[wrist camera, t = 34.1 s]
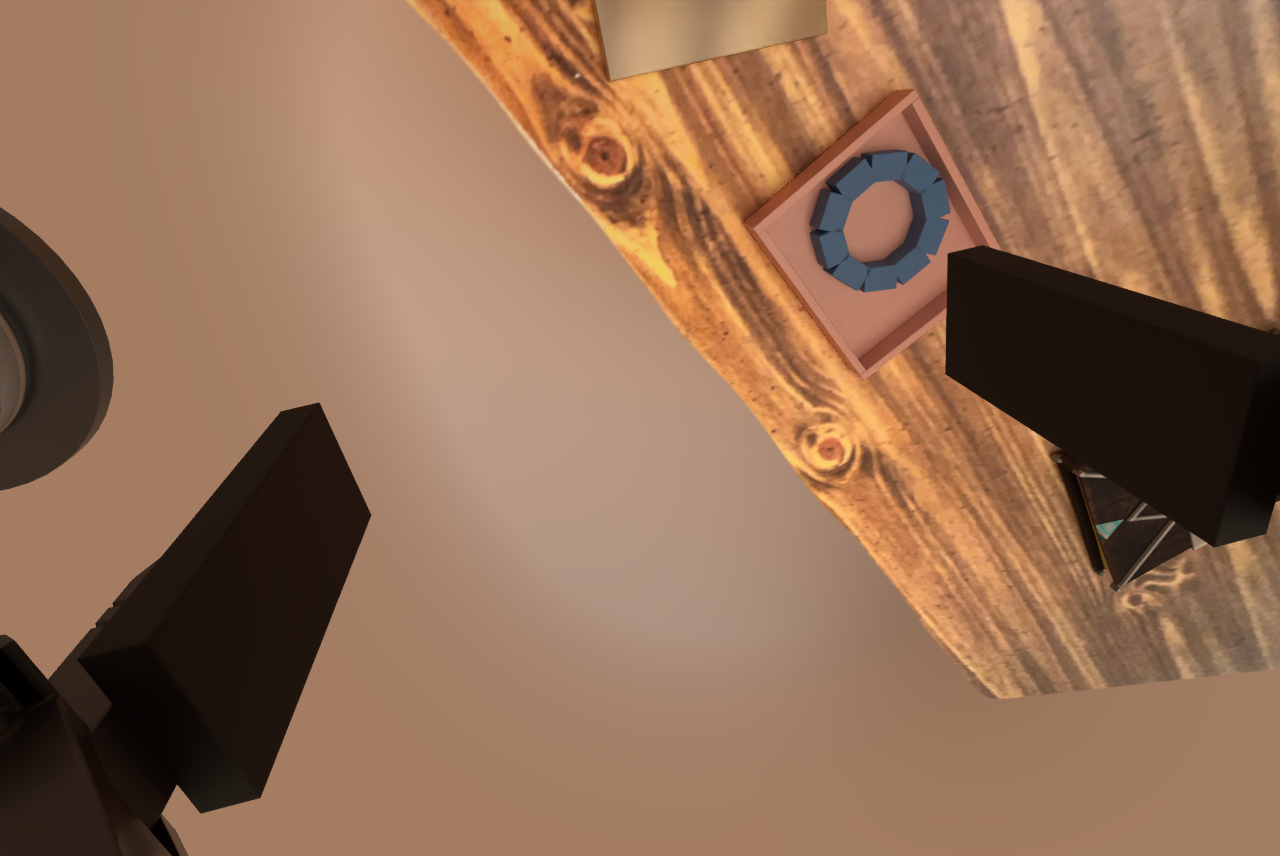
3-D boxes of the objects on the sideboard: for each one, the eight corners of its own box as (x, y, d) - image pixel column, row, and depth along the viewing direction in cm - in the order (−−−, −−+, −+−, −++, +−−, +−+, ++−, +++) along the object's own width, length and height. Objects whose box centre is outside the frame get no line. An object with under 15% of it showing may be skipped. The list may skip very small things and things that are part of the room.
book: (1276, 326, 58) (1338, 344, 53) (1291, 464, 65) (1347, 491, 61) (1048, 454, 60) (1089, 481, 56) (1087, 573, 68) (1126, 606, 63)
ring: (793, 274, 49) (802, 279, 47) (837, 134, 45) (848, 135, 44) (905, 297, 51) (917, 303, 50) (956, 165, 47) (971, 167, 46)
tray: (742, 222, 47) (753, 228, 45) (896, 89, 45) (915, 88, 43) (850, 369, 54) (863, 380, 51) (989, 259, 51) (1010, 266, 49)
